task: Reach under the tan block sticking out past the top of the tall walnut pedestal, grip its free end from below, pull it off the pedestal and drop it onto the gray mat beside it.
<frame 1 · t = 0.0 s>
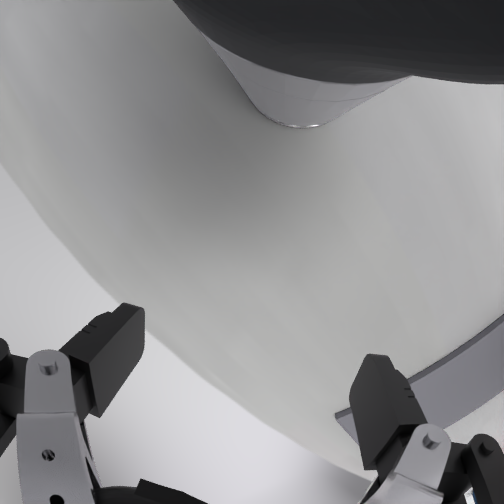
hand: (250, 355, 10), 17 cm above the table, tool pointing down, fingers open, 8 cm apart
gray mat: (443, 396, 31), on the table
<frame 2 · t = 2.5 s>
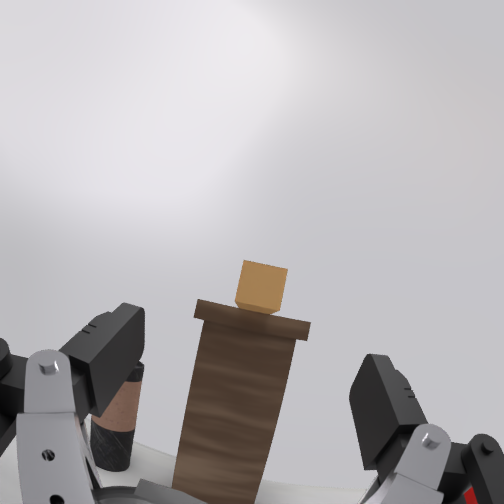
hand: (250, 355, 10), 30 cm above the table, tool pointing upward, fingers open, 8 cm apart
tan block: (253, 312, 33), point 32 cm above the table, touching walnut pedestal
travel mug: (109, 461, 37), on the table
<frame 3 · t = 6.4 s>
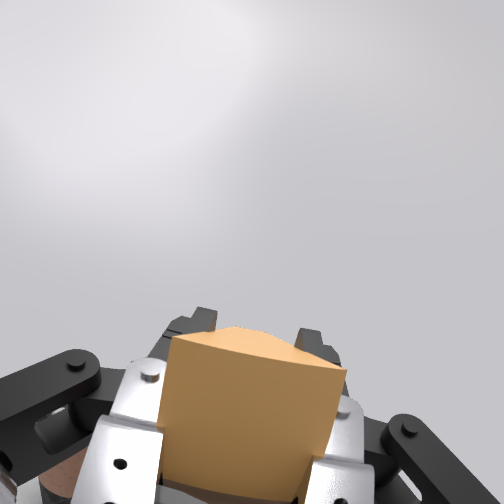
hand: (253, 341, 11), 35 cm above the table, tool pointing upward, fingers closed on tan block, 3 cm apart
tan block: (242, 380, 17), point 32 cm above the table, touching gripper, walnut pedestal
when the fingers open (26 cm above the table, at t = 14.1 s): tan block drops 22 cm, resting on gray mat.
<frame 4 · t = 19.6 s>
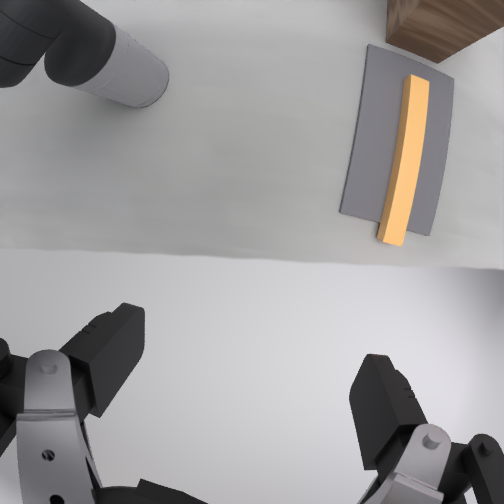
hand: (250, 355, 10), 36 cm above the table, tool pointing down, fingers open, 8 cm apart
tan block: (403, 158, 39), point 1 cm above the table, touching gray mat
walnut pedestal: (413, 22, 33), on the table
gray mat: (403, 138, 39), on the table
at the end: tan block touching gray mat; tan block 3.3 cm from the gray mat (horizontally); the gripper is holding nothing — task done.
